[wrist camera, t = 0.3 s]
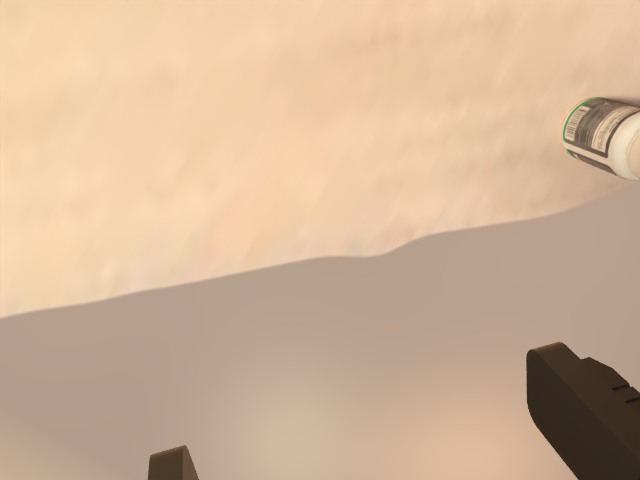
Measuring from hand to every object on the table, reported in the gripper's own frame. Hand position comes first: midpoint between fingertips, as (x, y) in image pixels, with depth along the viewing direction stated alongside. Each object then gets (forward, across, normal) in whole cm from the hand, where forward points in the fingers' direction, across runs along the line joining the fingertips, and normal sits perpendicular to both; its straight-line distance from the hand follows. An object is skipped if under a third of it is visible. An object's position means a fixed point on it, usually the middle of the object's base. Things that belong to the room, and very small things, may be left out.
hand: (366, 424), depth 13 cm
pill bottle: (+29, -25, +5) cm, 39 cm away
